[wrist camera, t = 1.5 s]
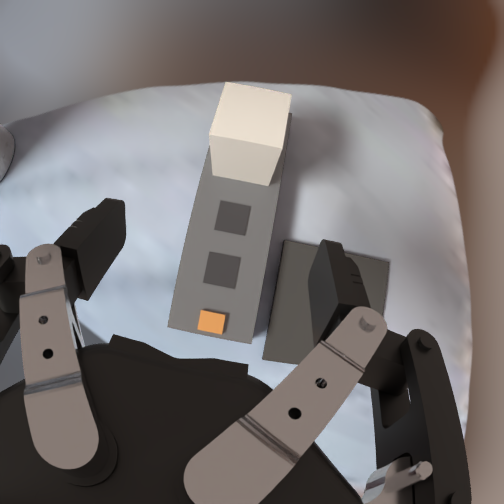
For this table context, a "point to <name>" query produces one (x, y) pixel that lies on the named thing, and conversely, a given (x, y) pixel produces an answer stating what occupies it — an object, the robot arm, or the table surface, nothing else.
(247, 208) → the power strip
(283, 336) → the mat
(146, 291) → the table surface
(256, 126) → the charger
